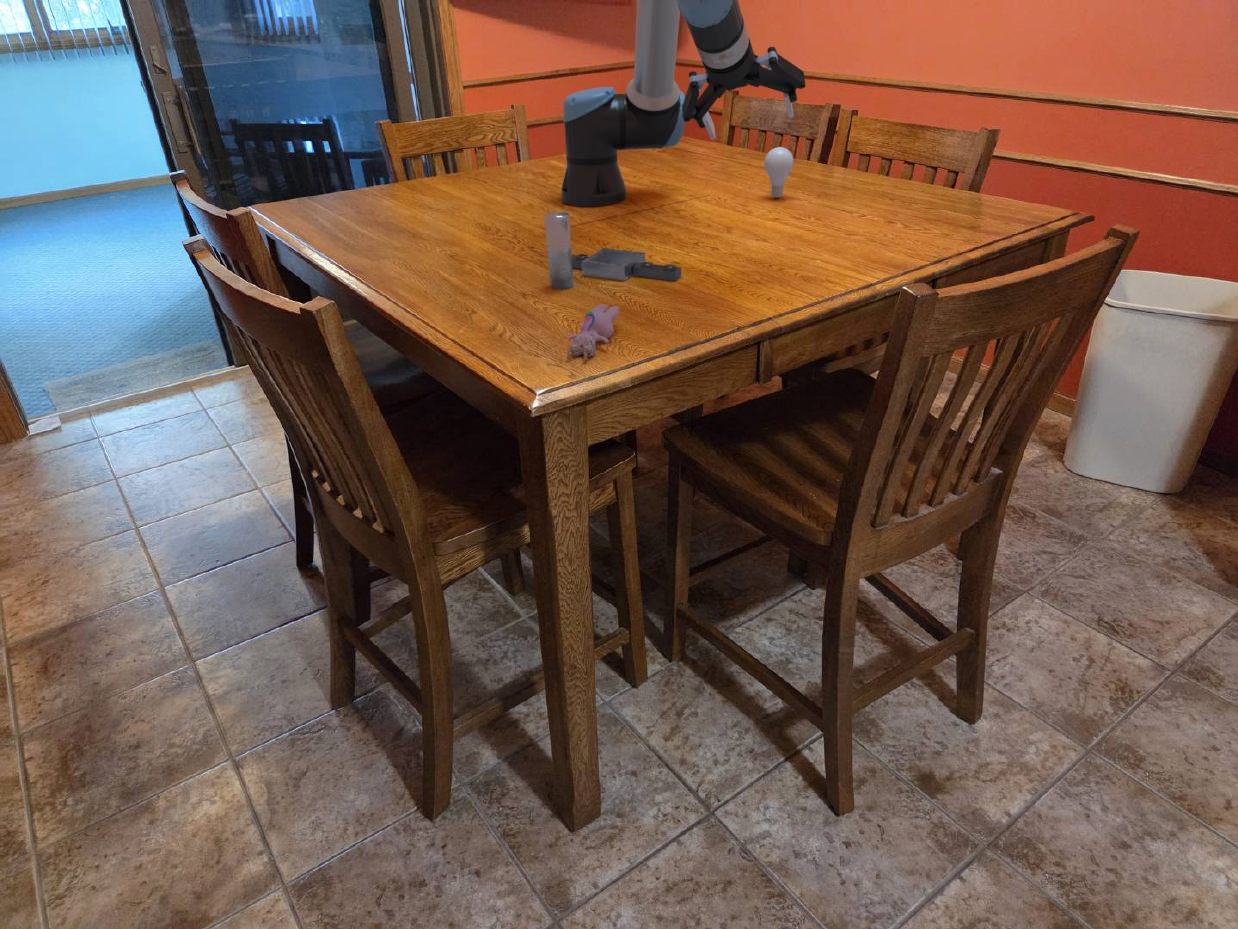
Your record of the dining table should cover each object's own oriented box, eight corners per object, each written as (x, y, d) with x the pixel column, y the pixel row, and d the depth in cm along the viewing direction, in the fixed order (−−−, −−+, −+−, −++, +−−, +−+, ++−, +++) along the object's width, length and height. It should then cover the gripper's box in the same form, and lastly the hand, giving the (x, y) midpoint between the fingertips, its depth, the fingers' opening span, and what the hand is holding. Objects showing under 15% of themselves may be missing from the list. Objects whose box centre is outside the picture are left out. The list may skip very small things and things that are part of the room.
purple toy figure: (599, 373, 112) (632, 317, 123) (594, 336, 109) (629, 282, 119) (557, 368, 114) (594, 314, 125) (551, 332, 110) (589, 279, 121)
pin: (546, 287, 139) (539, 216, 133) (557, 280, 142) (552, 210, 136) (566, 290, 137) (561, 218, 131) (577, 283, 140) (573, 212, 134)
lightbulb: (789, 194, 186) (793, 144, 181) (792, 201, 181) (795, 149, 175) (761, 195, 187) (764, 144, 181) (763, 202, 182) (765, 150, 176)
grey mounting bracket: (542, 270, 147) (541, 256, 146) (565, 256, 153) (564, 243, 152) (668, 286, 137) (668, 272, 136) (687, 271, 143) (687, 257, 142)
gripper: (647, 94, 124) (684, 160, 144) (813, 44, 116) (827, 121, 136) (642, 50, 125) (679, 121, 145) (806, -3, 117) (821, 80, 137)
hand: (751, 121), depth 140 cm, fingers open, 13 cm apart
